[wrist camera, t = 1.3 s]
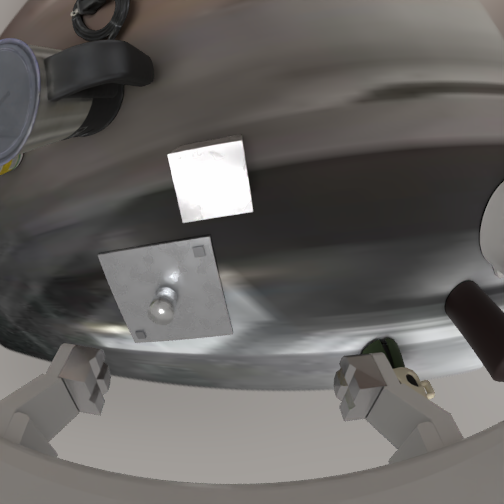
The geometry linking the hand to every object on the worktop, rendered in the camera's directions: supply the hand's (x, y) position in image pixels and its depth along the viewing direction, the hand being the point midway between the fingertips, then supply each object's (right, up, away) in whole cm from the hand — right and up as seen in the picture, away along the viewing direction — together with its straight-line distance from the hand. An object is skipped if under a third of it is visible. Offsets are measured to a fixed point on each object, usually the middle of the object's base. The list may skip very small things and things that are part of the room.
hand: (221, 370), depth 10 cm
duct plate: (-9, -1, +27) cm, 29 cm away
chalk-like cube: (-3, +12, +21) cm, 24 cm away
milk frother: (-16, +24, +15) cm, 32 cm away
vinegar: (+33, -3, +30) cm, 45 cm away
